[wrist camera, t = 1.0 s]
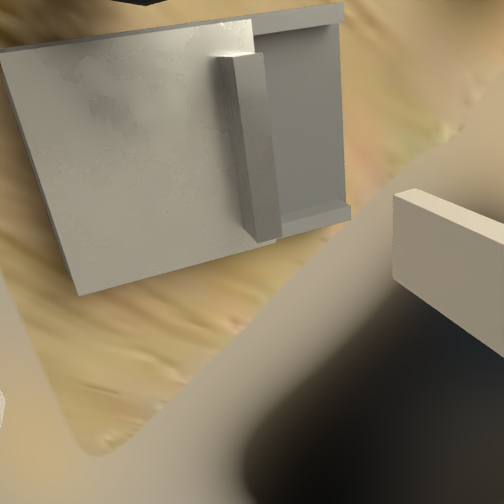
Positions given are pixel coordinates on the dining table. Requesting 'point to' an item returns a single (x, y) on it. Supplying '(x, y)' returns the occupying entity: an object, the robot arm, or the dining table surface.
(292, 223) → the holder
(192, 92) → the lid
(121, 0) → the light bulb
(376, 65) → the dining table surface
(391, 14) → the dining table surface
